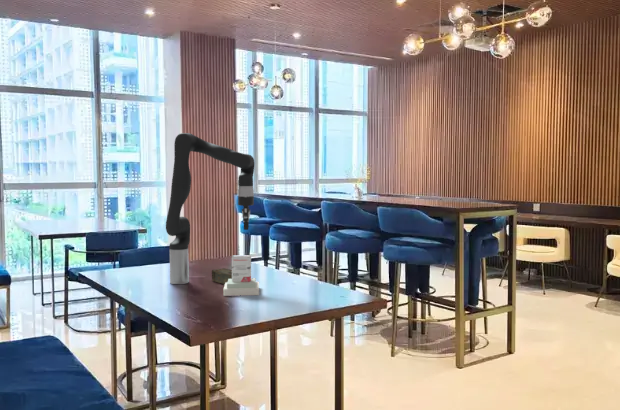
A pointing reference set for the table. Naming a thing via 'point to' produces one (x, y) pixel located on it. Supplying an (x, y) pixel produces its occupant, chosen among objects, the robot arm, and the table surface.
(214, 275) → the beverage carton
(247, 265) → the ink box
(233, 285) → the mint framed tile
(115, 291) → the table surface
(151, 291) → the table surface
